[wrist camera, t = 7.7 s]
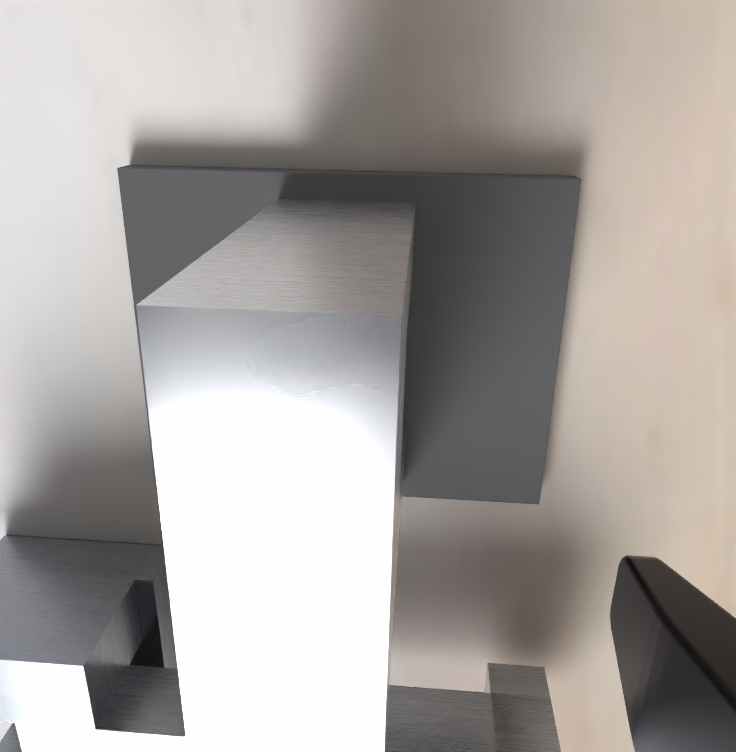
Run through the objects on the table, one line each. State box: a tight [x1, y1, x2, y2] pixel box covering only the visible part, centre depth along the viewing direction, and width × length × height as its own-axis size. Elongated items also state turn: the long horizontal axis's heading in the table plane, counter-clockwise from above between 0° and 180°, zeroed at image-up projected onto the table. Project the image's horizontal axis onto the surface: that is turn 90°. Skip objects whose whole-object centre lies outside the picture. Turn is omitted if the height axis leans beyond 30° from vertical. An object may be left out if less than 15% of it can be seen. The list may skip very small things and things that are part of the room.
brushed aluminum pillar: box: [136, 198, 416, 752], centre depth 13 cm, size 3×7×8 cm, turn 179°
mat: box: [117, 165, 581, 504], centre depth 17 cm, size 10×8×1 cm
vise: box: [0, 536, 561, 752], centre depth 19 cm, size 16×7×4 cm, turn 89°
